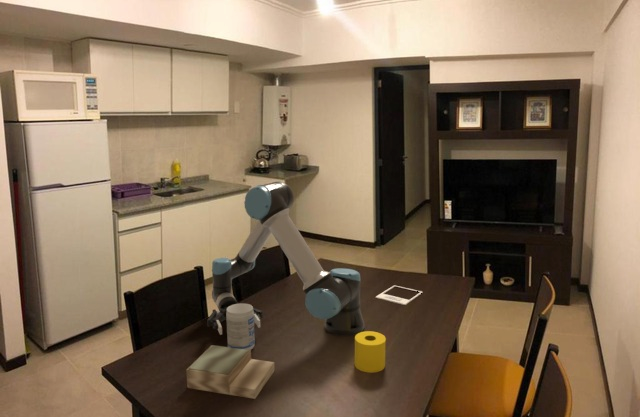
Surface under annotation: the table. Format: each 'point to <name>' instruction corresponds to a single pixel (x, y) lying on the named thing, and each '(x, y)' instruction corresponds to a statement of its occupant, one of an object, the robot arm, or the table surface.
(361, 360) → the yellow hollow cylinder
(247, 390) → the birch riser
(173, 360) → the table surface
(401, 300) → the photo frame
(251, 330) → the supplement tub
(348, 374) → the table surface
